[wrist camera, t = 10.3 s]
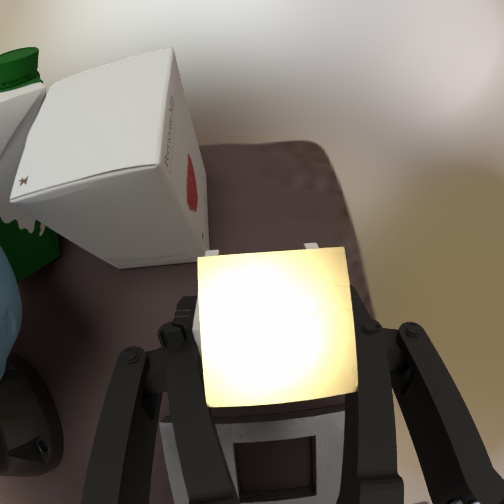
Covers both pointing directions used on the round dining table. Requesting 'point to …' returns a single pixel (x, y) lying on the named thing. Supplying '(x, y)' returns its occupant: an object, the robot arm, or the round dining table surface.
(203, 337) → the gold metal column
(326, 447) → the grey metal slotted plate
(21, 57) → the milk carton
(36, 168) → the supplement box
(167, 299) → the round dining table surface
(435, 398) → the robot arm
